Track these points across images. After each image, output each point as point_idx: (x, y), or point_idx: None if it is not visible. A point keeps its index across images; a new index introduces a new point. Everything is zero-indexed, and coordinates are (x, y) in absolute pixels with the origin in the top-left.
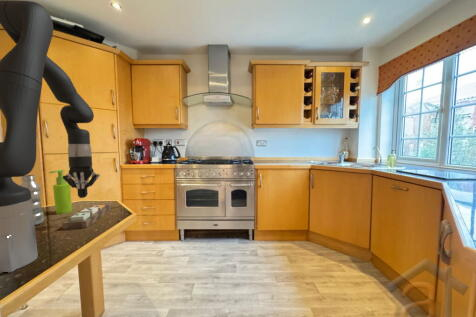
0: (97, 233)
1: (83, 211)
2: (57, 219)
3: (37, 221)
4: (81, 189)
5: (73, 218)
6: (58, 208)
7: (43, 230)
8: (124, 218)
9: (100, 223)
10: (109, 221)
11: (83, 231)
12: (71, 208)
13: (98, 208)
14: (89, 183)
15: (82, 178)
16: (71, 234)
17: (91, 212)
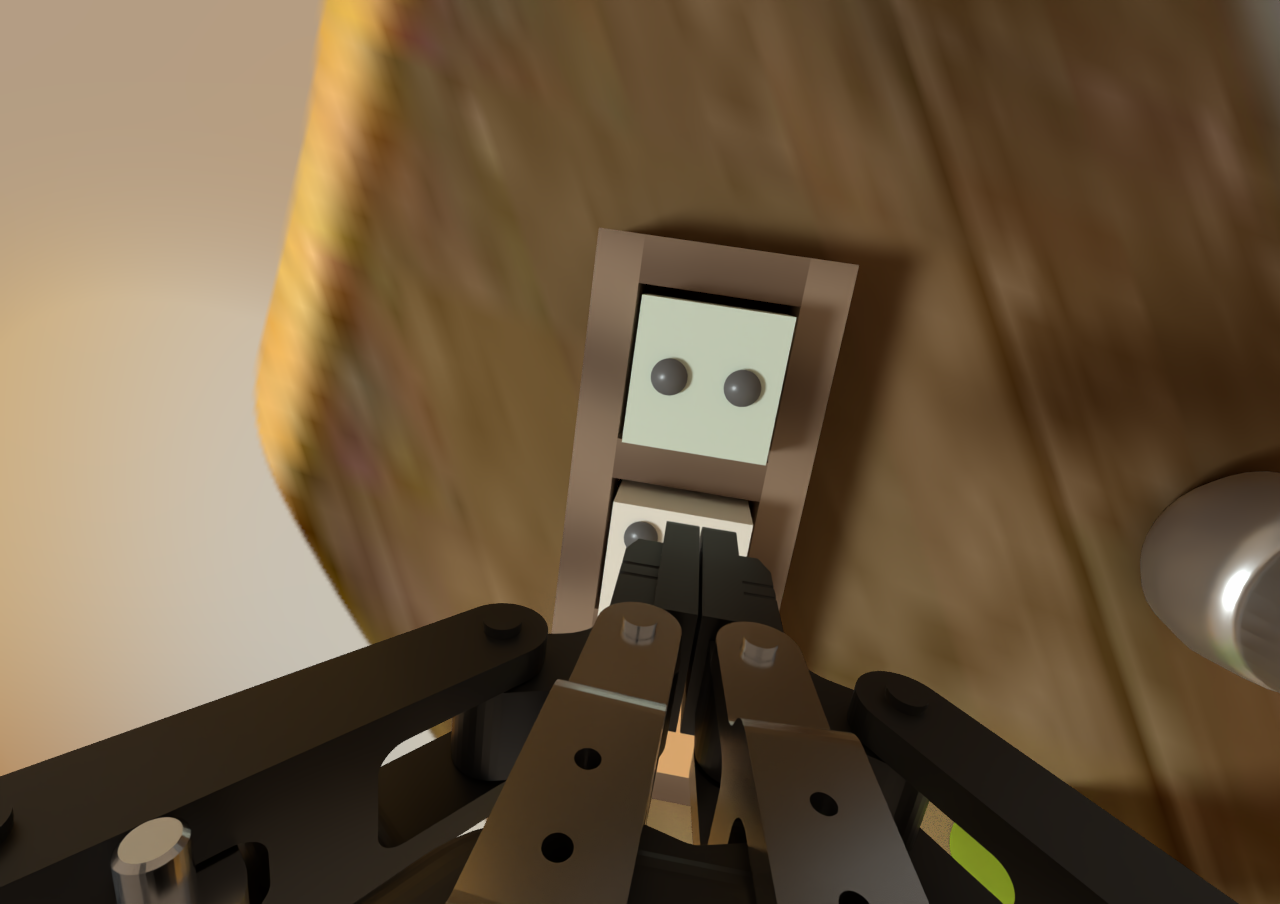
0: (438, 13)
1: (718, 519)
2: (1010, 620)
3: (1190, 504)
4: (683, 604)
5: (760, 311)
6: None
7: (1043, 320)
8: (313, 388)
9: (512, 322)
10: (438, 351)
11: (607, 131)
12: (960, 862)
13: None
14: (420, 657)
15: (559, 824)
16: (702, 81)
17: (627, 495)
